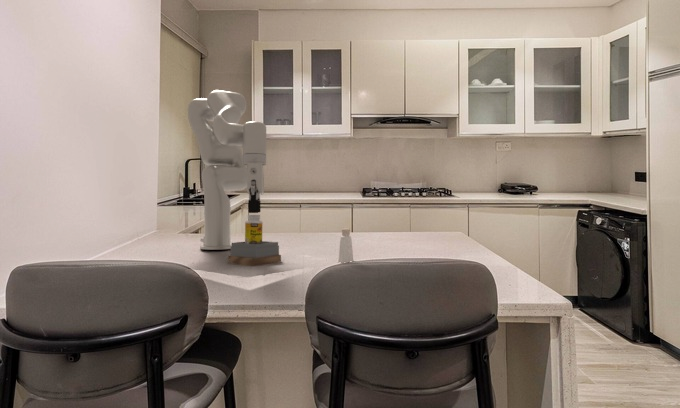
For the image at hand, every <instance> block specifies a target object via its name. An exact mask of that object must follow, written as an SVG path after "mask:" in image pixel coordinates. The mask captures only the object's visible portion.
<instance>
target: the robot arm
mask: <svg viewBox="0 0 680 408" xmlns="http://www.w3.org/2000/svg"><path fill="white" fill-rule="evenodd" d="M247 105H248V104H247V101H246V98H245V96H244V95H243V94H241V93H239V92H233V91H228V90H227V91H226V90H219V89H215V90H213V91H211V92H210V93H208V95H207V97H206V98H202V97H201V98H194V99H192V100H190V101H189V104H188V106H187V119H188V123H189V126H190V127H191V130H192V132H193V134H194V135H195V138H196V143H197V146H198V150H199V155H200V159H201V161H202V162H203V164H204V165H205V167H204V168H203V169H202V172H201V183H202V186H203V196H204V197H203V198H204V199H203V201H204V206H203V207H204V209H203V210H204V214H203V215H204V219H203V220H204V224H203V225H204V228H203V229H204V233H203V234H204V235H203V236H202V238H200V242H201V243H203V244H202V245H200V247H199V249H200V250H207V251H210V250H212V251H214V250H216V251H218V250H220V251H221V250H231V247H232V243H231V200H230V197H229V196H228V195H227V193H226V191H243V190H245V189H246V190H247V191H246V192H247V194H248V203H247V205H248V209H247V211H248V214H258V213H260V212H261V195H262V196H263V195H264V194H265V192H264V191H265V190H264V188H265V187H264V183H265V182H264V179H265V178H264V176H265V175H264V166H266V165H267V126H266V124H265V123H264V122H260V121H247V122H245V123H244V124H239V122H240V120H241V117H242V116H243V115H244V114H245V112H246V111H247ZM209 122H212V123H213V125H212V124H211V123H209ZM241 148H242V149H241Z"/></svg>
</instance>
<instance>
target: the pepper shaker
mask: <svg viewBox="0 0 680 408" xmlns="http://www.w3.org/2000/svg"><path fill="white" fill-rule="evenodd" d="M350 232H351V229H350V228H341V236H340V237H339V246H338V247H339V248H338V258H337V263H339V262H341V263H340V264H345V263H344V262H350V261H354V253H353V243H352V236H351V235H350Z"/></svg>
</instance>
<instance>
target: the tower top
mask: <svg viewBox="0 0 680 408" xmlns="http://www.w3.org/2000/svg"><path fill="white" fill-rule="evenodd" d="M231 244H232V247H231V249H230V255H231V256H238V257H250V258H259V257H267V256H274V255H280V245H279V242H278V241H268V240H267V241H266V240H262V244H246V243H245V241H237V242H231Z"/></svg>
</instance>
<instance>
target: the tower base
mask: <svg viewBox="0 0 680 408" xmlns="http://www.w3.org/2000/svg"><path fill="white" fill-rule="evenodd" d="M227 256H228V257H227V258H228V262H227V263H228V264H233V265H235V264H236V265H240V266H241V265H242V266H251V267H256V266H263V265H269V264H270V265H271V264H276V263H281V262H282V255H281V254H279V255H274V256H267V257H259V258H250V257H238V256H231V254H230V255H227Z"/></svg>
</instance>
